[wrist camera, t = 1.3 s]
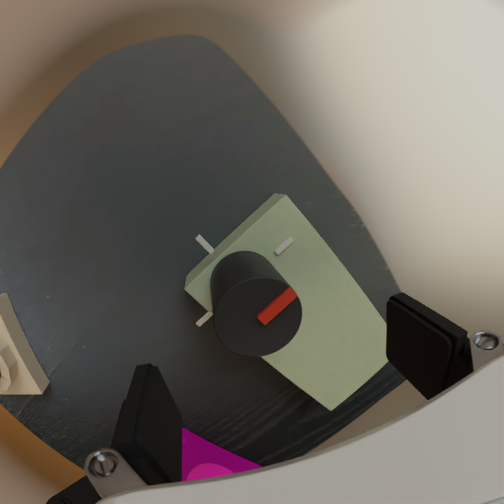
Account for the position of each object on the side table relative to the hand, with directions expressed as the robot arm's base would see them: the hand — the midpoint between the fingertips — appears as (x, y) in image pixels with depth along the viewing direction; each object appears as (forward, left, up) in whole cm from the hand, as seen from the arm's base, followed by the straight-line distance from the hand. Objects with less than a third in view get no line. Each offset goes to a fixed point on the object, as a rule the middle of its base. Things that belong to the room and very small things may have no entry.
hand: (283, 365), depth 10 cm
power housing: (+2, -26, -12) cm, 29 cm away
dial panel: (+4, +3, -12) cm, 13 cm away
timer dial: (0, 0, -9) cm, 9 cm away
